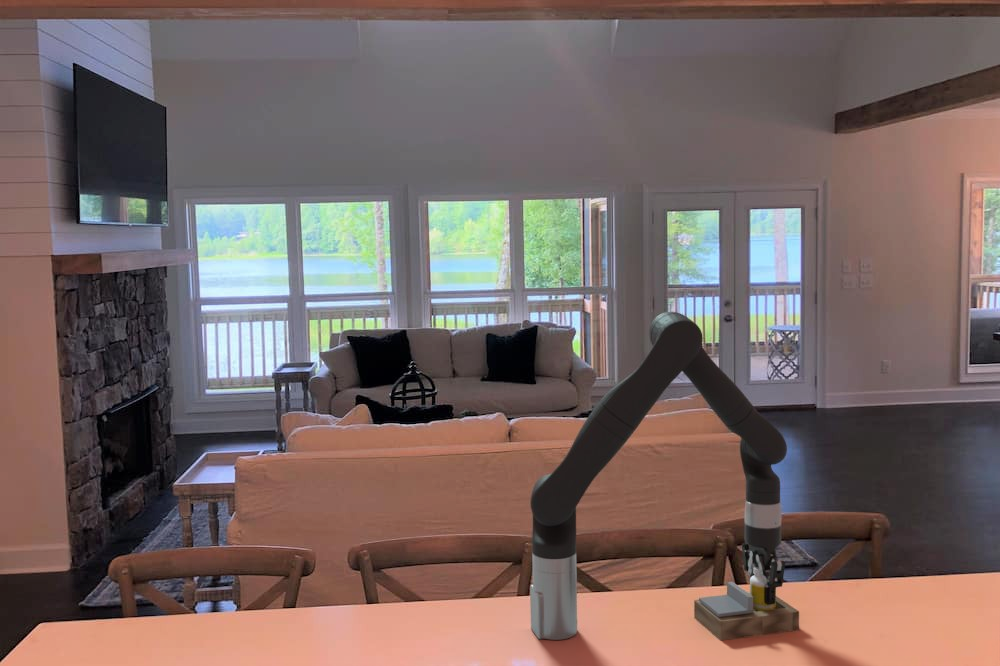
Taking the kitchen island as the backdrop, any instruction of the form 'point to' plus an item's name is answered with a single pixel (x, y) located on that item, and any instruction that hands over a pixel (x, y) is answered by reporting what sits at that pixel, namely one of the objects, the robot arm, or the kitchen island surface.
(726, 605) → the panel
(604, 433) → the robot arm
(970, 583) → the kitchen island surface
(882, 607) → the kitchen island surface
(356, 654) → the kitchen island surface
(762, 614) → the socket board
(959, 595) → the kitchen island surface
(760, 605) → the supplement bottle
